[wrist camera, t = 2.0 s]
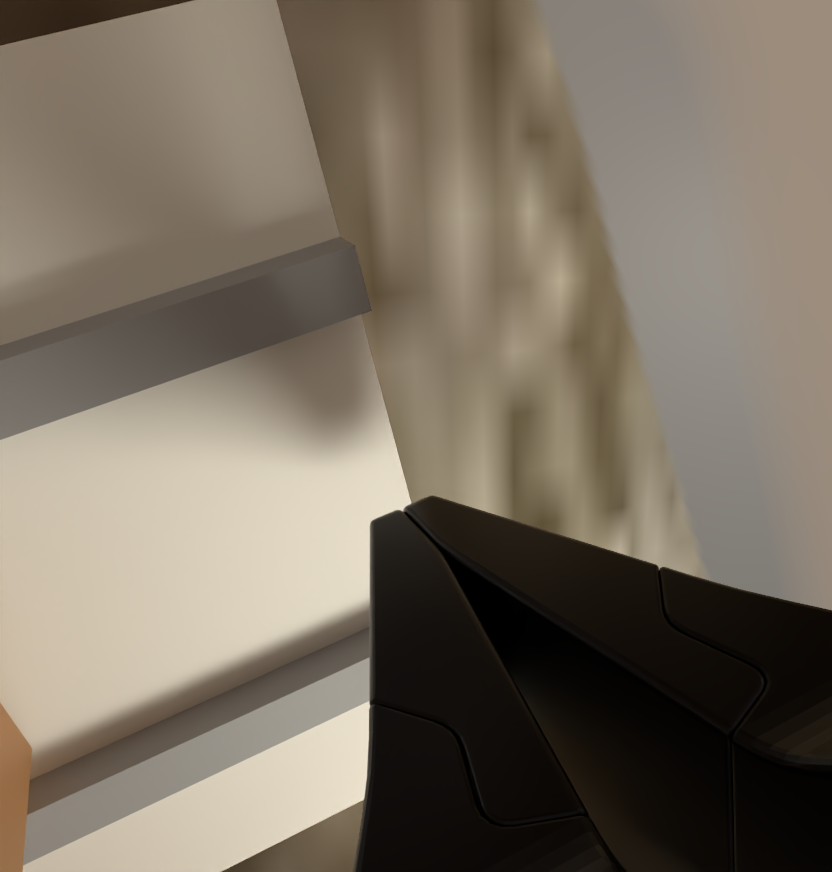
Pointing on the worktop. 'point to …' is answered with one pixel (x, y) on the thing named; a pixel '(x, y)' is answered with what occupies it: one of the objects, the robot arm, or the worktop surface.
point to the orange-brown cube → (13, 793)
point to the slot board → (180, 446)
